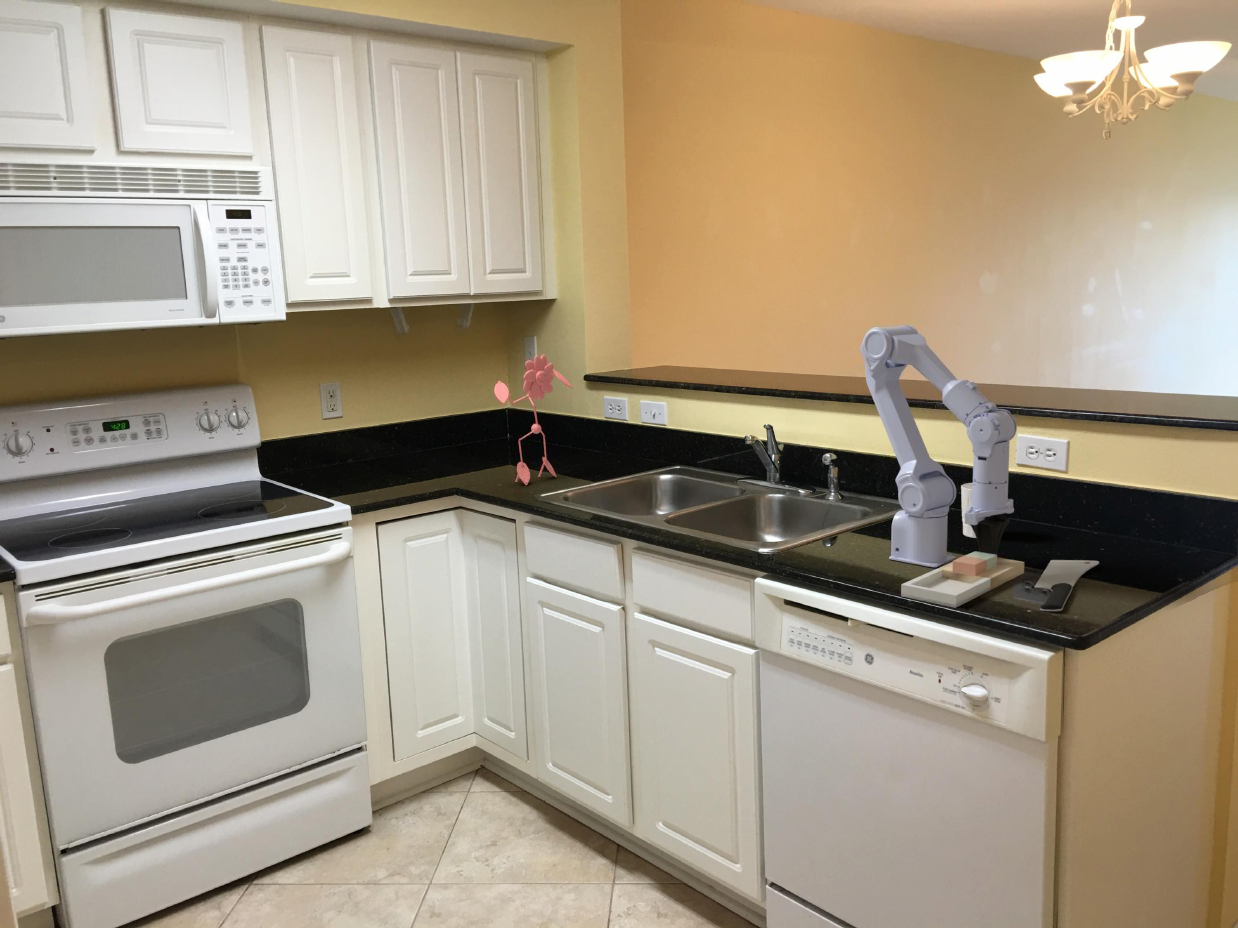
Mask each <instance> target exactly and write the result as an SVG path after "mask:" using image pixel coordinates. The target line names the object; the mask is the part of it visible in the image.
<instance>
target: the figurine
mask: <svg viewBox="0 0 1238 928" xmlns="http://www.w3.org/2000/svg"><path fill="white" fill-rule="evenodd" d="M524 363H525V364H524V366H525V369H526V370H527V371H526V372H525V373H524V375H523V380H524V383H523V388H522V391H523V392H524V393H527V394H526V395H524V396H522V397H520V398H519V399H516V400H514V401H513V400H512V398H511V396H510V394H509V393H510V391H509V388H508V386H507V385H506V384H505V383H504V382H502V381H501V380H498V381H497V383H495V385H494V391H493V392H494V395H495V397H496V399H497V400H498V401H499V402H500V403H502V404H503V405H504V404H505V403H506V402H507V400H509V402H510V404H511V405H515V404H516V403H518V402H520V401H522V400H524V399H526V398H528V399H529V401H530V403H531V405H532V407H533V413H534V417H535V423H533V424H532V426H531V429H530V430H531V431H530V432H529V433H527V434H526V435H524V436H523V437H521V438H519V439H518V447H519V454H520V455H519V456H520V461H519V462H518V463H517V465H516V472H517V475H516V478H515V481H514V483H515V482H517V483H518V480H519V479H520V480H521V482H522V483H523V484H524V485H525V486H527V485H528V484H529V481H530V479H531V473H530V469H529V467H528V466H527V464H526V463H525V462H524V461H523V456H522V447H521V440H523V439H525V438H526V437H529V436H530V435H531V434H532V433H533V434H536V435H537V434H539V433H541V434H542V437H543V448H544V456H542V462H543V463H542V465H541V467H540V471H539V473H538V476H537V478H538V477H540V478H541V476H542V473H543V470H544V467H545V468H546V469H547V470H548V471H549V472H550V474H551V475H552V476H553V477H554V478H557V475H556V472H555V470H554V468H553V466H552V464H551V463H550V462H549V460H548V459H547V450H546V449H547V447H546V438H545V437H546V435H545V434H544V432H543V431H542V426H541V425H540V424H539V422H538V416H537V410H536V406H535V404H534V401H536V400H537V399H539V400H540V401H543V400H544V398H545V396H546V395H545V394H550V393H552V392H553V391H554V388H553V385H552V382H553V381H554V379H555V376H556V377H557V378H558V380H559V381H560V382H562V383H563V384H564V385H565V386H566V387H568V388H569V389H570V388H571V389H574V388H573V386H572V385H571V383H570V382H569V381H568V379H567V378H566V377H564V375H563V374H561V373H560V372H559V371H558V370H556V369H554V363H552V362H550V363H548V359H547V355H546V354H542V355H541V356H539V355H535V356H534V358H533V360H529V359H528V360H527V361H525V362H524ZM497 486H500V487H501V486H502V485H501V484H497Z"/></svg>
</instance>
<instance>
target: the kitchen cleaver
mask: <svg viewBox="0 0 1238 928" xmlns="http://www.w3.org/2000/svg"><path fill="white" fill-rule="evenodd" d="M1099 564H1100V561H1098V560H1087V559H1086V560H1085V559H1084V560H1083V559H1082V560H1081V559H1080V560H1078V559H1073V560H1072V559H1071V560H1070V559H1069V560H1068V559H1066V560H1065V559H1051V560H1050V562H1049V563H1048V564H1047V566H1046V568H1045V569H1044V571H1043V573H1042V574H1041V576H1039V579H1038V581H1037V582H1036V584H1035V585H1034V588H1039V589H1045V590H1049V591H1051V593H1050V594H1049V596H1048V597H1047V599H1046V600H1045V602H1044V603H1043V604H1042V605H1041V606H1040V607H1039V610H1040V612H1043V613H1047V614H1048V613H1050V614H1060V613H1062V612H1063V610H1064V607H1065V605H1066V603H1067V601H1068V599H1069V598H1070V596H1071V593H1072V591H1073V587H1074V586H1075V585H1076V583H1077V581H1079V579H1080V577H1082V575H1084V574H1085V573H1087V571H1089V570H1091V569H1092V568H1094V567H1096V566H1098V565H1099Z"/></svg>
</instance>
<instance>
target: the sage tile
mask: <svg viewBox="0 0 1238 928" xmlns="http://www.w3.org/2000/svg"><path fill="white" fill-rule="evenodd" d="M964 556H968V557H974V558H979V559H985V560H986V571H988V570H990V569H992V568H994V567H996V566H997V557H998V554H996V555H995V554H989V553H983V552H980V551H973V552H971V553H968V554H965V555H964Z"/></svg>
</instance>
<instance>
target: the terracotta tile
mask: <svg viewBox="0 0 1238 928" xmlns="http://www.w3.org/2000/svg"><path fill="white" fill-rule="evenodd" d="M952 562H953V572H954V573H959V574H965V575H970V576H977V575H979V574H981V573H983V572H985V571H986V560H985V559H979V558H974V557H968V556H965V555H962V556H960V557H958V558H956V559H954V560H952Z"/></svg>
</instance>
